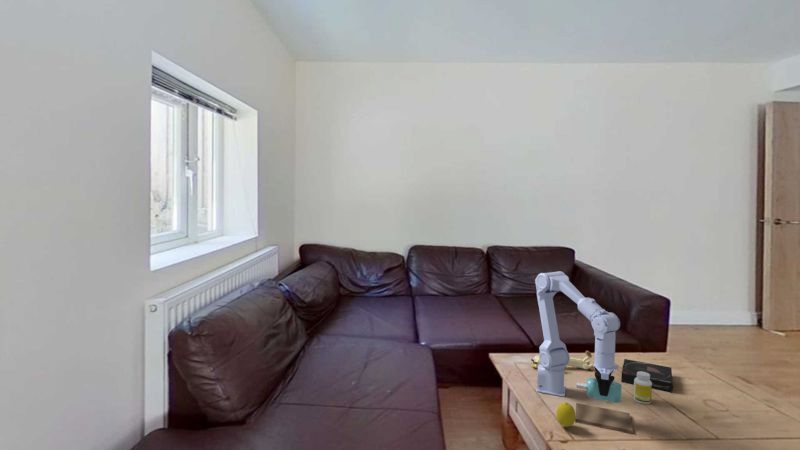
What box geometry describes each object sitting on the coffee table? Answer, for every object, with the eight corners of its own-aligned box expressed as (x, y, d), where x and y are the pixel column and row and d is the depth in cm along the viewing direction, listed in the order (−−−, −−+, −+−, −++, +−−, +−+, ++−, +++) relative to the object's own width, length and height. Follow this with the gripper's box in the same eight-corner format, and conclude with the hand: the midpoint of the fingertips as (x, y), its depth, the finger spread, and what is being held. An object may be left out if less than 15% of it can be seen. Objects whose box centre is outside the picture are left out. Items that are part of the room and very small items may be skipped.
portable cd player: (670, 376, 163) (671, 366, 163) (672, 394, 149) (672, 383, 148) (624, 367, 172) (624, 358, 171) (621, 383, 157) (621, 373, 157)
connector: (576, 395, 133) (576, 380, 132) (576, 389, 136) (577, 375, 136) (621, 403, 127) (622, 388, 127) (620, 397, 131) (621, 382, 130)
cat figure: (585, 366, 175) (527, 361, 176) (587, 347, 174) (529, 342, 175) (595, 377, 165) (533, 371, 166) (598, 356, 164) (536, 350, 165)
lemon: (552, 422, 129) (553, 398, 129) (569, 422, 130) (570, 397, 129) (561, 432, 124) (561, 407, 123) (578, 431, 124) (579, 406, 124)
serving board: (575, 421, 130) (575, 418, 130) (576, 405, 140) (576, 402, 140) (632, 433, 123) (632, 430, 123) (629, 416, 133) (629, 413, 133)
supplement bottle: (653, 405, 140) (654, 377, 139) (636, 403, 141) (637, 376, 140) (647, 397, 145) (648, 371, 145) (631, 396, 146) (632, 369, 146)
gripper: (620, 361, 122) (618, 405, 123) (617, 345, 135) (616, 385, 136) (594, 357, 125) (593, 400, 126) (594, 342, 138) (592, 381, 139)
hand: (603, 392), depth 131 cm, fingers closed on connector, 4 cm apart
